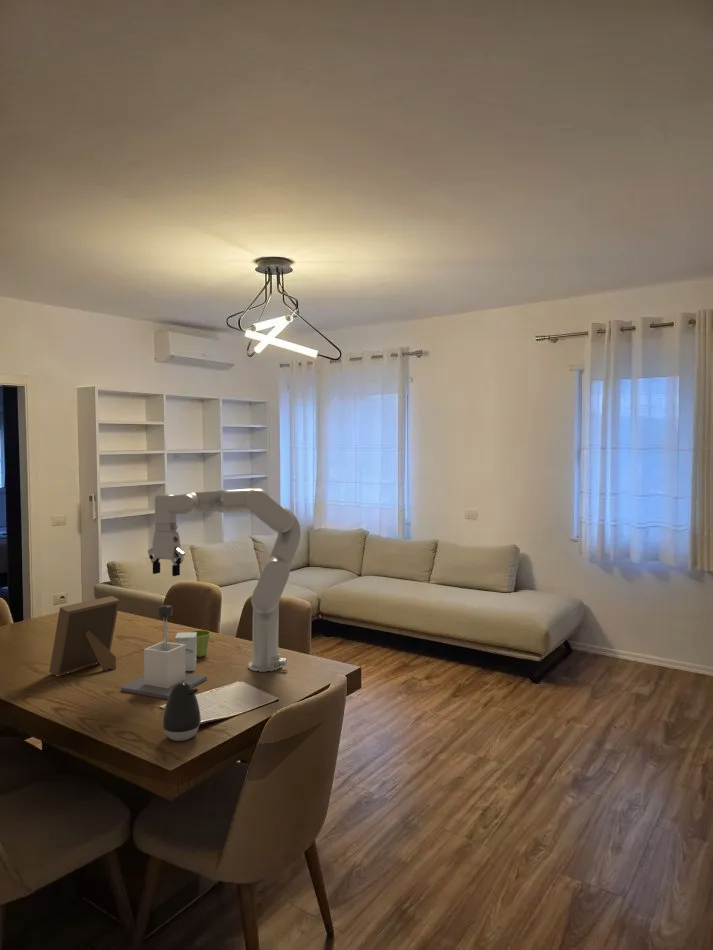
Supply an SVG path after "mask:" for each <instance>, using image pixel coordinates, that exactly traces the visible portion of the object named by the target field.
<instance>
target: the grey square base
mask: <svg viewBox="0 0 713 950" xmlns="http://www.w3.org/2000/svg"><path fill="white" fill-rule="evenodd" d="M143 650H144V651H143V656H144V658H143V660H144V661H143V663H144V664H143V676H142V677H139V678H138V679H135V680H133V681H131V682H129V683H127V684H125V685H122V686H121V687H120V692H124V691H125V693H130V694H136V693H137V694H136V695H141V694H142V695H141V696H147V697H152V696H153V698H159V699H163V698H164V699H165V700H168V697H169V695H170V692H171V691H172V689H173V687H174V686H175V685H176V684H178V683H181V682H184V683H187V684H189V685H190V686H191V687H192V689H194V687H196V686H198V685H200V684H201V683H203V681H204V682H205V681H207V679H208V675H200V674H196V673H187V672H186V671H185V658H186V645H185V644H178V643H175V642H169V641H167V651H163V641H160V642H158V643H156V644H154V645H153V644H152V645H151V646H147V647H146V648H144V649H143ZM164 699H163V700H164Z"/></svg>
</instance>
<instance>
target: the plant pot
mask: <svg viewBox="0 0 713 950" xmlns="http://www.w3.org/2000/svg"><path fill="white" fill-rule="evenodd" d="M190 632H197V653H196V658H197V657H199V658H202V656H203V657H205V656H207V653H208V646H209V645H208V644H209V639H210V635H211V634H212V632H211V631H210V630H204V629H201V630H200V629H199V630H198V629H197V630H192V631H190Z"/></svg>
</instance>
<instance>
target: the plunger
mask: <svg viewBox="0 0 713 950" xmlns="http://www.w3.org/2000/svg"><path fill="white" fill-rule="evenodd" d="M171 616H173V606H172V605H170V604H163V605H162V604H161V605H159V606H158V617H159V618H160V617H161V618H163V629H162V631H163V635H162V636H163V639H162V642H163V651H167V642H168V617H171Z"/></svg>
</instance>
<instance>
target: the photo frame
mask: <svg viewBox="0 0 713 950" xmlns="http://www.w3.org/2000/svg"><path fill="white" fill-rule="evenodd" d="M119 606H120V599H119V598H117V597H115V596H113V595H110V596H106V597H105V596H104V597H102V598H97V599H92V600H86V601H83V602H78V603H74V604H68V605H64V606H60V607H59V611H58V616H57V617H58V618H57V623H56V630H55V633H54V635H55V636H54V642H53V647H52V654H51V660H50V666H49V673H50V674H52V675H53V674H54V675H60V674H64V673H67V672H71V671H74V670H77V669H80V670H82V669H81V668H83V669H85V668H84V667H87V666H90V665H93V664H96V663H99V666H100V667H101V669H102V671H103V670H105V671H109V670H108V669H112V670H117V659H116V658H117V657H116V656H115V655H114V653H112V651H111V650H112V645H113V639H114V634H115V633H114V632H115V627H116V622H117V616H118V611H119ZM96 665H97V664H96ZM93 666H94V665H93ZM90 667H91V666H90ZM87 668H88V667H87ZM77 671H78V670H77ZM74 672H75V671H74ZM71 673H72V672H71ZM54 675H53V676H54Z"/></svg>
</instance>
